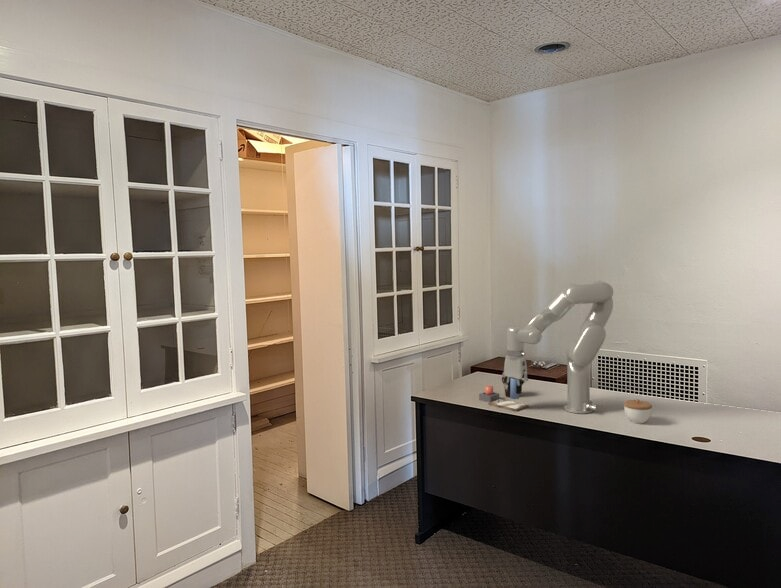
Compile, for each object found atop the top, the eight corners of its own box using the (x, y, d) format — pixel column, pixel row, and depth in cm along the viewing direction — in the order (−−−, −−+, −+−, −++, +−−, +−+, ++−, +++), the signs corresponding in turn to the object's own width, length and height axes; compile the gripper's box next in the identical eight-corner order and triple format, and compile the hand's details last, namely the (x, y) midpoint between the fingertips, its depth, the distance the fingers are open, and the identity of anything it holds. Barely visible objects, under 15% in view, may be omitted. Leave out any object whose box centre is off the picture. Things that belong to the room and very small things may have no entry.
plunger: (495, 396, 266) (494, 386, 266) (489, 398, 264) (489, 388, 263) (488, 395, 269) (488, 385, 269) (483, 396, 267) (483, 386, 266)
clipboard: (529, 406, 253) (528, 404, 253) (516, 411, 246) (516, 409, 246) (501, 400, 265) (501, 398, 265) (488, 404, 258) (488, 402, 258)
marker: (520, 398, 250) (521, 372, 249) (515, 399, 247) (515, 374, 246) (513, 396, 253) (513, 371, 252) (508, 397, 250) (508, 372, 249)
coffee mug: (522, 397, 268) (522, 378, 267) (505, 398, 268) (504, 378, 267) (517, 391, 279) (517, 372, 278) (500, 392, 279) (500, 373, 279)
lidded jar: (628, 425, 223) (628, 403, 222) (620, 417, 234) (620, 396, 233) (655, 425, 222) (655, 403, 221) (646, 417, 232) (646, 396, 231)
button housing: (499, 399, 266) (499, 393, 266) (490, 402, 262) (490, 396, 261) (488, 396, 272) (488, 391, 271) (479, 399, 267) (479, 393, 267)
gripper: (535, 355, 245) (534, 394, 246) (505, 349, 257) (504, 387, 259) (525, 357, 240) (525, 397, 241) (495, 352, 252) (495, 390, 254)
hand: (514, 392), depth 250 cm, fingers closed on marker, 3 cm apart
